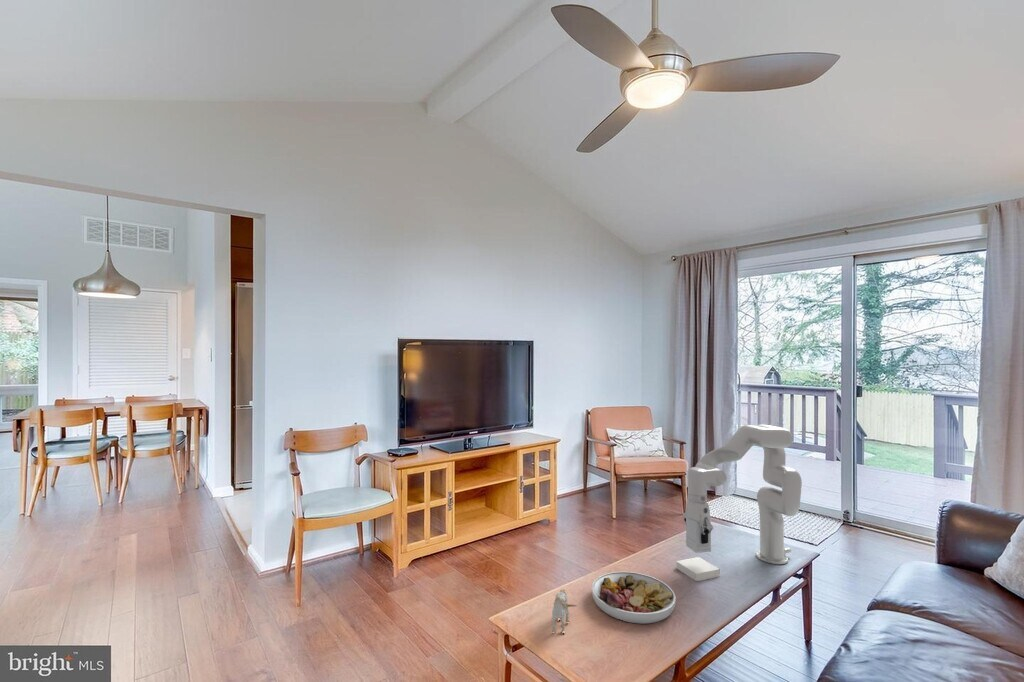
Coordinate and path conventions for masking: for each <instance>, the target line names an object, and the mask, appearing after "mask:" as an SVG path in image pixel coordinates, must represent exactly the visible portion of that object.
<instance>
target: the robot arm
mask: <svg viewBox="0 0 1024 682" xmlns="http://www.w3.org/2000/svg"><path fill="white" fill-rule="evenodd" d="M793 437H794V436H793V434H792V432H791V431H790V430H789V429H787V428H784V427H781V426H775V425H774V426H773V425H769V424H761V423H760V424H757V425H751V424H744V425H742V426H740V427H739V428H738V429H737V430H736V432H734V433H733V435H732V436H731V437H730V438H729V439H728V440H727V441H726V442H725V444H724V445H722V446H720V447H718V448H715V449H713V450H711V451H709V452H707V453H705V455H703V456H702V457H701V458H700V459H699V460H698V461H697V462H696V464H695V466H692V467H690V468H688V470H687V499H686V504H685V505H686V506H685V512H683V513H682V517H683V520H684V522H685V523H686V517H688V518H690V519H692V520H695V521H697V522H699V527H700V528H701V531H702V534H701V543H702V544H706V543H708V534H709V533H710V532H711V533H712V530H714V525H713V524H712V522H711V523H710V521H711V513H710V512H711V511H710V505H709V502H708V487H709V486H710V487H720V486H723V485H724V484H725V483H726V482H727V478H728V476H727V474H726V472H725V471H724V470H722V469H721V468H718V467H716V466H718V465H721V464H724V463H731V462H737V461H740V460H742V459H743V457H744V456H745V455H746V454H747V452H749V450H750V449H752V447H759V448H762V450H763V466H762V467H763V468H762V478H763V480H764V482H765V483H767V484H769V485H771V487H770V486H762V487H760V488H759V489H758V491H757V493H756V500H757V505H758V512H759V513H758V514H759V550H757V551H755V555H756V556H755V557H756V558H757V559H759V560H760V561H763V562H765V563H767V564H774V565H785V564H788V562H789V558H788V557H787V556H786V555H787V554H789V553H791V552H792V549H791V548H790V547H786V548H785V541H784V540H785V536H784V535H785V534H784V533H785V531H784V530H785V529H784V528H785V526H784V525H785V523H784V517H783V515H784V516H787V517H795V516H796V515H797V514H798V512H799V510H800V507H801V497H802V477H801V474H800V473H799V471H797V470H796V469H794V468H791V467H788V466H786V458H787V457H786V455H787V454H786V450H785V449H787V448H788V447H790V446H791V445H792V443H793V440H794V439H793ZM772 486H775V487H777V488H775V487H772ZM778 488H781V489H778ZM704 523H706V526H703V525H704ZM707 526H708V527H707ZM704 528H705V531H704Z"/></svg>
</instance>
